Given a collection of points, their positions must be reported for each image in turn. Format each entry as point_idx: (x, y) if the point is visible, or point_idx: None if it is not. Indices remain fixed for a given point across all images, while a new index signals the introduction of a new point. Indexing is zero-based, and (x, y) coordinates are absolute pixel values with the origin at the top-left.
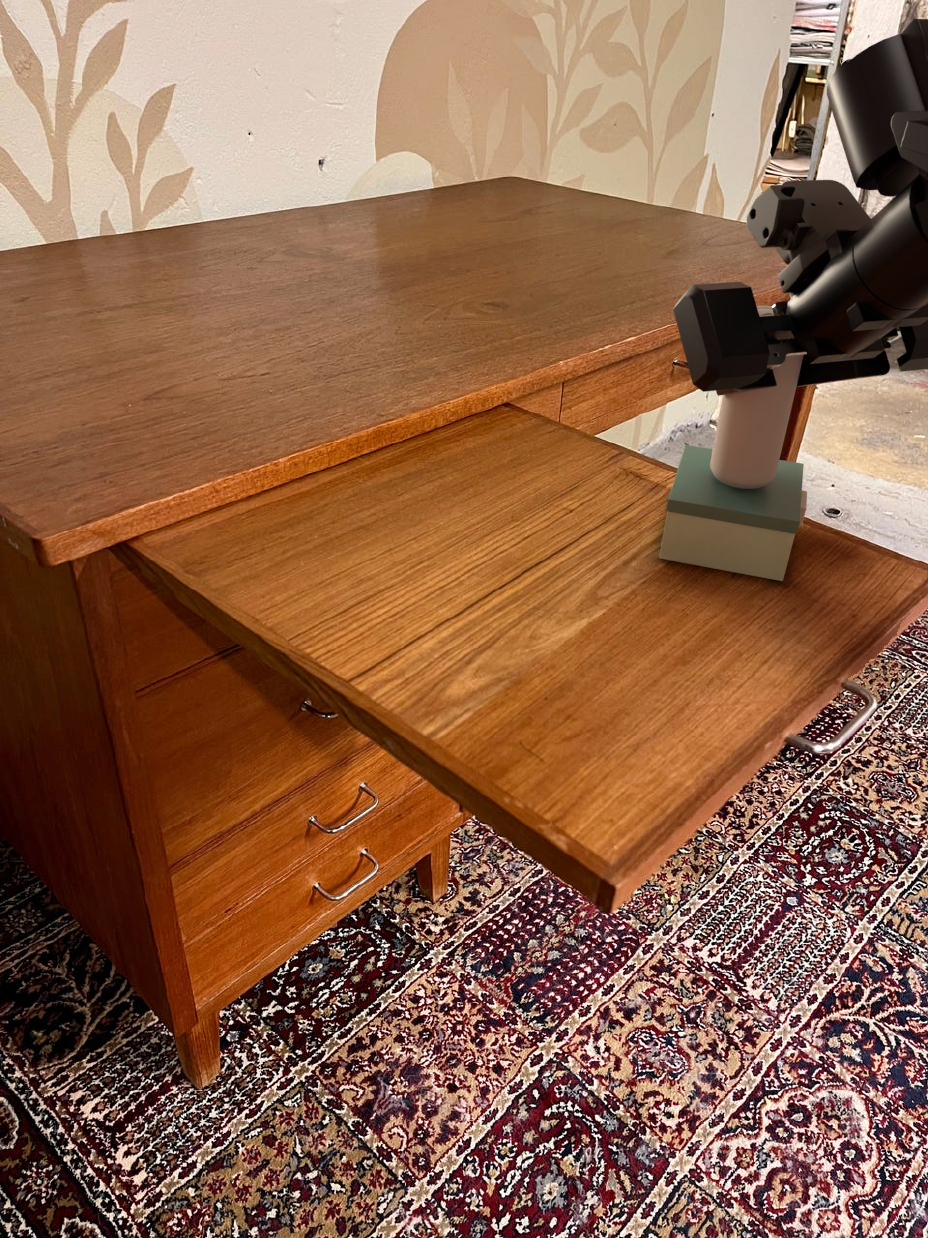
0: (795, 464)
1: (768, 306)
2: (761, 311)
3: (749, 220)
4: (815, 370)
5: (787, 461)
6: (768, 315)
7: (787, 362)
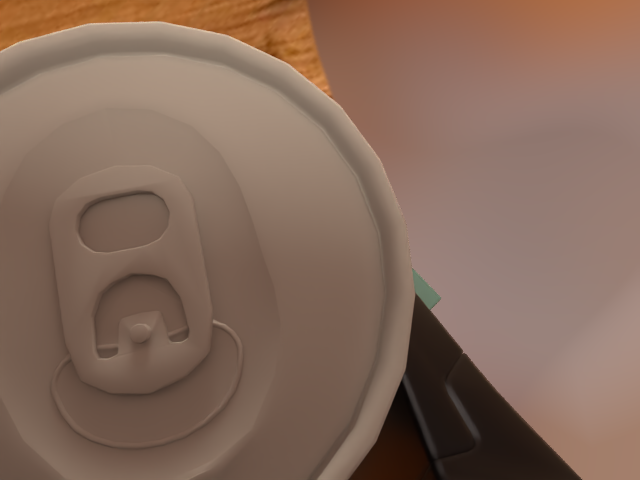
0: (421, 295)
1: (280, 73)
2: (158, 124)
3: None
4: (358, 472)
5: (415, 276)
6: (129, 223)
7: None
